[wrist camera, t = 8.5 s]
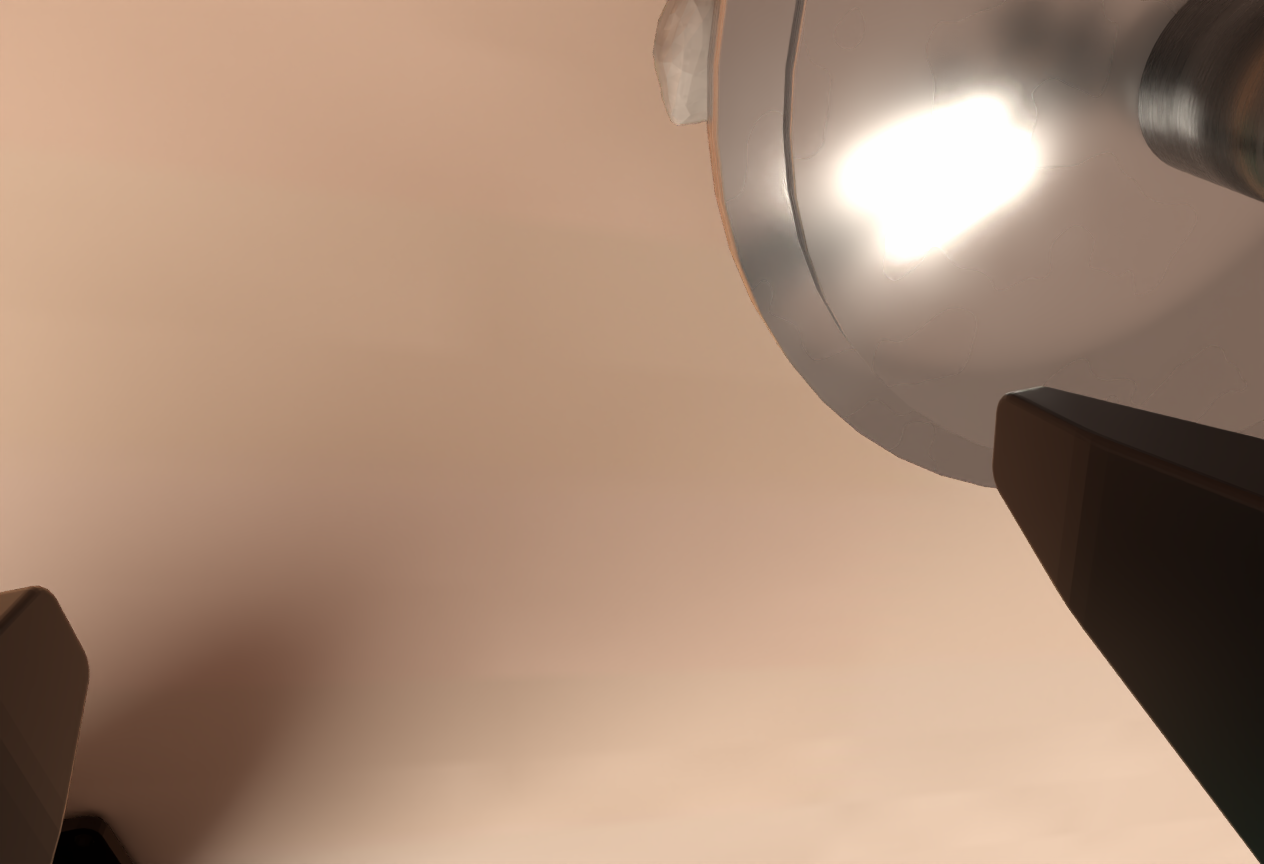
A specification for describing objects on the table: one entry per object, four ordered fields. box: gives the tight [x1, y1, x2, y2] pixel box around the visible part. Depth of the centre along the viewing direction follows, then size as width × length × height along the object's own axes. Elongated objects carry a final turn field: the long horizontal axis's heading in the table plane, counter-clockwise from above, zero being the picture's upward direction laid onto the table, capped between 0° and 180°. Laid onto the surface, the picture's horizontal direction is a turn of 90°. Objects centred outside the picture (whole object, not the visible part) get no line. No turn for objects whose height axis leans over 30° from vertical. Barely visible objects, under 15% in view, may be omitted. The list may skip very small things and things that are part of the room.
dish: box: [653, 0, 714, 126], centre depth 18 cm, size 14×14×5 cm
